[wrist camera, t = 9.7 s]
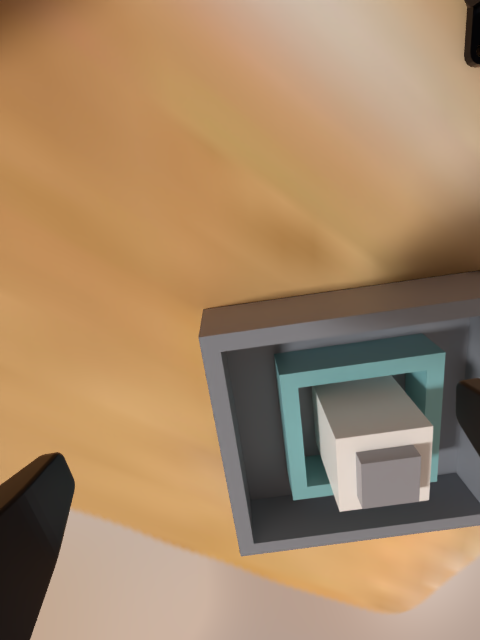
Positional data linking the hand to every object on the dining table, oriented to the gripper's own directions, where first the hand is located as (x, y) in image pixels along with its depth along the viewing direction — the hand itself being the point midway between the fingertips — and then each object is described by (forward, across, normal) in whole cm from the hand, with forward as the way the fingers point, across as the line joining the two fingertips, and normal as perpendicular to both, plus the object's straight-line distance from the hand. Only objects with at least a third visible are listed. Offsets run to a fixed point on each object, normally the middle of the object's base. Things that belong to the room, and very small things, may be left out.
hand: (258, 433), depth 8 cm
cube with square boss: (+10, -5, +7) cm, 13 cm away
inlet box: (+11, -5, +7) cm, 14 cm away
